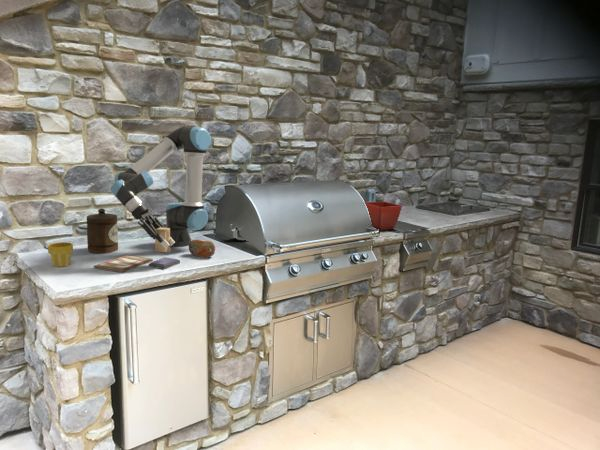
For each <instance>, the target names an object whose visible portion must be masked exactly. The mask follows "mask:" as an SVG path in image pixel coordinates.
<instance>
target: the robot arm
mask: <svg viewBox="0 0 600 450" xmlns="http://www.w3.org/2000/svg"><path fill="white" fill-rule="evenodd" d="M211 145H212V136H211V134H210V133H209V131H208V130H207V129H206V128H204V127H200V126H186V125H185V126H181V127H177V128H176V129H174V130H172V131H171V132H170V133H168V134H167V135H166V136H165V137H163V139H162V141H161V142H160V143H159V144H158V145H156V146H155V147H154V148H153V149H151V150H150V151H149V152H147V153H146V154H145V155H143V157H141V158H140V159H139V160H137V161H136V162H135V163H134V164H132V165H131V166H130V167H129V168H127V169H126V170H124V171H119V172H117V173H116V174H115V175H114V177H113V178H114V182H113V184H111V186H110V188H109V189H110V191H111V193H112V195H113V196H114V197H115V198H116V199H117V200H118V201H119V202H120V203H121V204H122V206H124V208H125V209H126V210H127V211H128V212H129V213H130V214H131V216H132V217H133V218H134V219H135V220H139V221H138V222H137V224H138V225H139V226H141V228H143V230H144V231H145V232H146V233H147V234H148V235H149V237H150V238H152V240H155V238H156V239H157V240H158V241H159V242H160V244H161V245H162V246H163V247H164V248H165V249H166V248H167V247H168V246H169V243H168V242H167V241H166V240H165V239H164V238H163V237H162V236H161V234H160V235H159V234H158V232H157V231H156V229H157V228H160V227H161V228H170V247H186V246H189V244H190V242H191V241H192V238H191V235H190V233H189V230H191V231H199V230H202V229H203V228H204V227H205V226H206V225H207V223H208V221H209V215H208V212H207V210H205V204H204V203H203V202H202V200H203V199H202V196H203V195H202V193H203V173H204V172H203V168H204V165H203V164H204V157H205V156H206V154H207V151H208V149H210V146H211ZM182 149H183V153H184V154H185V155H186V159H185V162H186V163H185V166H186V167H185V191H184V193H185V194H184V201H183V202H171V203H168V204H166V207H165V215H166V216H165V217H166V218H165V221H166V224H165V225H164V224H163V223H162V222H161V221H160V220H159V219H158V217H157V215H155V214H153V215H151V213H149V207H147V205H146V204H145V203H144V202H143V201H142V200H141V199H140V197H139V196H137V195H138V194H139V193H142V192H143V191H145V190H146V189H148V188H149V187H151V186H152V185H153V184H154V179H153V177H152V175H151V174H150V173H149V172H151V170H153V169H154V168H156V166H158V165H159V164H160V163H162V162H163V161H165V159H166V158H168V157H169V156H171V154H175V153H178V152H179V151H180V150H182ZM165 226H166V227H165Z"/></svg>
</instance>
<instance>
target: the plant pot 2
mask: <svg viewBox="0 0 600 450" xmlns="http://www.w3.org/2000/svg"><path fill="white" fill-rule="evenodd" d="M364 203H365V204H366V206H367V208H368V211H369V215H370V218H371V222H372V226H373V227H374V228H376V229H375V230H377V229H379V230H378V231H386V230H387V231H388V230H389V231H390V230H394V228H395V226H396V224H397V223H398V219H399V217H400V215H401V211H402V207H403V206H402V205H400V204H395V203H393V202H388V201H369V202H368V201H367V202H364ZM374 228H373V229H374Z"/></svg>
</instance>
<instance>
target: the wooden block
mask: <svg viewBox="0 0 600 450" xmlns="http://www.w3.org/2000/svg"><path fill="white" fill-rule="evenodd" d="M156 231H157V232H158V234H159V235H160V234H161V236H162V237H163V238H164V239H165V240H166V241H167V242H168V243H169V246H168V247H167V248H166V249H165V248H164V247H163V246H162V245H161V244H160V242H159V241H158V240H157V239H156V238H155V239H154V240H155V241H154V242H155V243H154V245H155V247H154V248H155V253H160V254H167V253H169V252H170V251H171V246H170V228H166V227H165V228H161V227H160V228H157V229H156Z"/></svg>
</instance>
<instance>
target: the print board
mask: <svg viewBox="0 0 600 450" xmlns="http://www.w3.org/2000/svg"><path fill="white" fill-rule="evenodd" d="M153 261H154V258H149V257H143V256H135V255H130V254H129V255H128V254H125V255H122V256H118V257H116V258H113V259H112V258H111V259H109V260H107V261H104V262H100V263H98V264H95V265H93V269H98V270H104V271H109V272H115V273H121V274H122V273H125V272H127V271H130V270H133V269H135V268H138V267H141V266H144V265H145V264H147V263H148V264H149V263H151V262H153Z"/></svg>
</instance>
